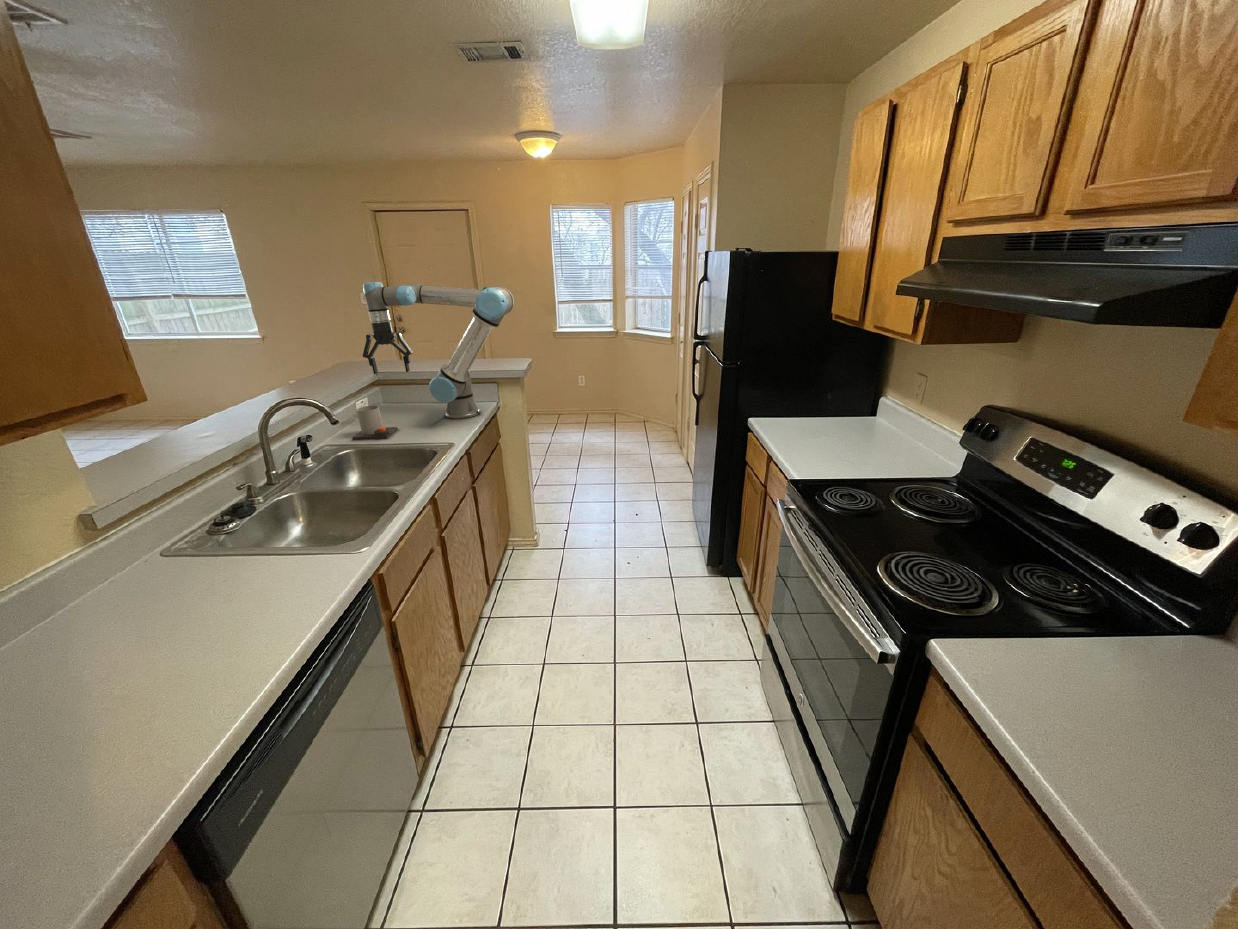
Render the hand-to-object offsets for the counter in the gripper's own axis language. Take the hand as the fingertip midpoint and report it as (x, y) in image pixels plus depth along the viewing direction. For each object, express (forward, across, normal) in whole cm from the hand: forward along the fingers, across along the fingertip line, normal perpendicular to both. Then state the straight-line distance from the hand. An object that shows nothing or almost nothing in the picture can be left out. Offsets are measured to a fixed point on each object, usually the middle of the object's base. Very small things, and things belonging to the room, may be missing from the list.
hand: (392, 372), depth 218 cm
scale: (+23, -7, -14) cm, 28 cm away
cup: (+22, -8, -13) cm, 27 cm away
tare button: (+21, -2, -18) cm, 28 cm away
